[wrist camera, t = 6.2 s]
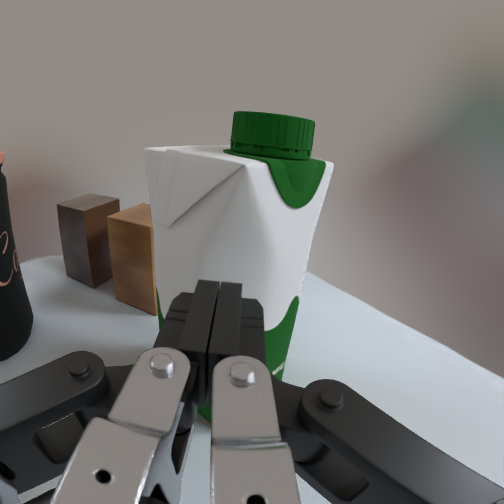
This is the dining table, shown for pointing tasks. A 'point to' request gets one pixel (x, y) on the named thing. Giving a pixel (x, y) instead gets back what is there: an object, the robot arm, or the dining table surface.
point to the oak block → (133, 257)
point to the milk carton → (240, 218)
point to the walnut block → (87, 237)
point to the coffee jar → (11, 284)
